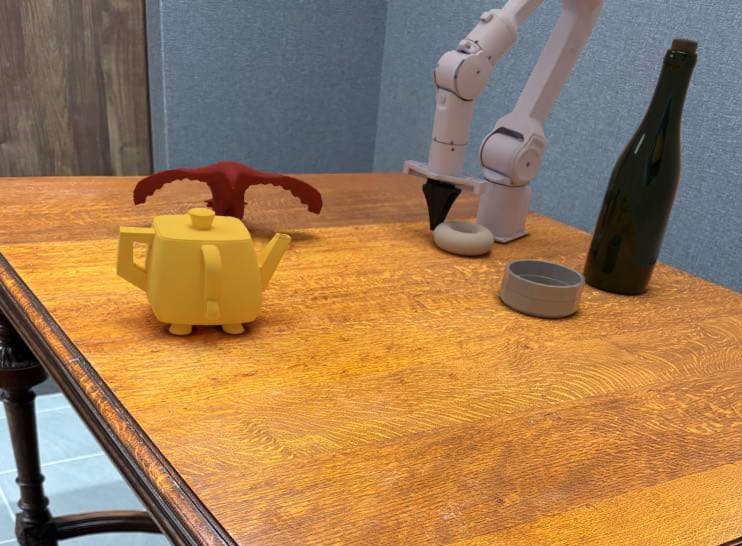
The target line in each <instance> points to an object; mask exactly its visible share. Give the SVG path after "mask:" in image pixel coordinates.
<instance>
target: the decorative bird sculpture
mask: <svg viewBox="0 0 742 546" xmlns="http://www.w3.org/2000/svg"><path fill="white" fill-rule="evenodd" d="M184 180H189V181H198V182H200V183H206V185H207V187H208V188H209V189H210V193H211V197H212V198H209V199H206V200H203V203H205V207H207V208H211V210H212V211H214V212H215V216H226V217H234V218H238V219H239V220H240V221H242V220H244V219H243V218H244V216H245V209H246V206H247V205H249V203H248V202H246V201H245V194H246V191H247V190H248V189H249V188H250V187H251V186H258V185H263V186H267V185H272V186H273V187H278V186H279V187H281V188H282V189H283V190H284V191H290V193H291V195H292V196H293V197H294V198H298V199H299V200H300V201H299V202H300V204H302V205H307V212H309V213H313V214H315V215H320V213H321V212H322V208H323V204H324V202H323V199H322V198H323V197H322V194H321V192H320V191H319V190H318V189H317V188H315V187H314V186H312V185H311V184H309V183H308V182H306V181H304V180H301V179H299V178H296V177H294V176H289V175H284V174H281V173H277V172H276V173H275V172H274V173H270V172H263V171H262V170H261V171H260V170H258V169H255V168H253V167H250V166H249V165H246V164H244V163H241V162H238V161H234V160H233V161H232V160H222V161H218V162H216V163H211V164H210V165H205V166H199V167H194V168H193V167H191V168H187V167H186V168H185V167H179V168H172V169H171V168H170V169H165V170H160V171H157V172H155V173H152V174H151V175H148V176H145V177H144V178H142V179H139V181H138V182H137V183H136V185H135V186H134V189H133V191H132V194H133V195H132V198H133V199H132V200H133V204H134V206H138V205H143V204H146V202H147V197H153V196H154V194H155V192H156V191H157V190H158V191H159V190H161V189H162V188H163V187H164V186H165V185H166V184H171V183H173V182H176V181H181V182H182V181H184Z"/></svg>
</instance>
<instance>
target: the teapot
mask: <svg viewBox="0 0 742 546" xmlns="http://www.w3.org/2000/svg"><path fill="white" fill-rule="evenodd" d="M118 230H119V231H118V239H117V240H118V242H117V253H116V265H115V271H116V276H118V277H120V278H121V279H123V280H125V281H126V282H128V283H129V284H131V285H133V286H134V287H136V288H138V289H140V290H142V291H143V292H145V296H146V298H147V301H148V304H149V305H150V308H151V310H152V312H153V314H154V316H155V318H156V320H158V321H160V322H162V323H166V324H170V327H169V329H168V331H169V332H170V333H171V334H173V335H178V336H181V335H182V336H184V335H189V334H191V333H192V330H193V326H221V328H222V331H223V332H225V333H227V334H230V335H231V334H232V335H233V334H234V335H237V334H242V333H244V332H245V328H244V326H243V325H242V324H243V323H245V324H246V323H249V322H250V323H251V322H254V321H255V320H256V319H257V317H258V316H259V313H260V311H261V309H262V306H263V293H264V292H265V291H266V289H267V287H268V285H269V284H270V282H271V279H272V277H273V276H274V274H275V272H276V270H277V269H278V266H279V264H280V263H281V260H282V259H283V257H284V255H285V253H286V251H287V249H288V247H289V245H290V243H291V241H292V237H291V236H290V235H289V234H285V233H281V232H275V235H274V236H273V237H272V239H271V240H270V241H269V242H268V243H267V244H266V245H265V247H264V248H263V249H262V250H261V251H260V252H259V254H258V255H257V254H256V250H255V249H256V248H255V246H254V241H253V239H252V235H251V234H250V232H249V230H248V229H247V227H246V225H245V224H244V222H243V221H242V220H239V219H238V218H235V217H231V216H227V217H226V216H215V212H214V211H212V209H210V208H208V207H207V208H206V207H193V208H190V209H188V211H187V212H186V213H183V214H161V215H156V216H155V217H154V218H153V220H152V223H151V226H150V227H139V226H137V227H135V226H134V227H133V226H119V229H118ZM134 243H141V244H146V247H145V255H144V265H143V266H141V265H140V264H137V263H136V262H134Z"/></svg>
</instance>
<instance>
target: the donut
mask: <svg viewBox="0 0 742 546" xmlns="http://www.w3.org/2000/svg"><path fill="white" fill-rule="evenodd" d="M475 223H476V222H470V221H466V220H445V221H444V222H443V223H440V224H439V225H438V226H437V227H436V228H435V230H434V231H433V236H432V237H433V241H434V243H435V245H437V246H438V248H440V249H441V250H444V251H445V252H448V253H452V254H455V255H459V256H467V257H468V256H469V257H470V256H471V257H474V256H475V257H476V256H481V255H485V254H487V253H488V252H490V251H491V249H492V248H493V246H494V244H495V240H494V237H493V234H492V233H491V231H489V230H488V229H487V228H485V227H483V226H481V225H479V224H475Z"/></svg>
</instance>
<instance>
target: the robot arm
mask: <svg viewBox="0 0 742 546" xmlns="http://www.w3.org/2000/svg"><path fill="white" fill-rule="evenodd" d="M545 1H546V0H507V2H506V3H505V4H504V5H503V7H502V8H492V9H489V10H488V11H484V12H483V13H482V14H481V15H480V17H479V19H480V21H479V22H478V23H477V24H476V26H475V27H473V29H472V30H471V31H470V32H469V34H468V35H466V37H465V38H464V39H461V40H460V42H459V43H458V44H457V45H458V46H457V47H456V49H455V50H454V49H452V50H448V51H447V52H445V53H444V54H443V55H442V56H441V57H440V58H439V59H438V62H437V64H436V67H435V69H434V68H433V69H432V83H433V86H434V87H435V90H436V91H435V101H436V105H435V113H434V119H433V125H432V126H433V127H432V132H431V133H432V134H431V139H430V148H429V154H428V160H427V163H426V162H421V161H417V160H413V159H408V160H404V162H403V171H402V174H403V175H406V176H414V177H417V178H421V179H425V180H426V181H425V183H423V184H422V186H421V190H422V192H423V193H422V194H423V196H424V199H425V202H426V205H427V206H426V207H427V212H428V220H429V221H428V222H429V231H432V232H434V230H435V228H436V227H437V226H438V225H439V224H440V223H443V222H446V218H447V216H448V214H449V212H450V210H451V208H452V206H453V205H454V203H455V202H456V200H457V199H458V197H459V196H460V195H461V193H462V191H465V192H469V193H472V194H473V195H475V196H480V197H479V201H478V208H477V213H476V217H475V218H476V219H475V222H474V223H475V224H479V225H481V226H483V227H485V228H487V229H488V230H489V231H491V233H492V234H493V237H494V242H498V243H502V244H505V243H508V242H511V241H513V240H516V239H518V238H521V237H523V236H527V235H529V231H528V230H526V229H525V226H526V223H527V218H528V213H529V209H530V204H531V200H532V190H531V187H530V182H531V181H532V180H534V178H535V177H536V176H537V174H538V172H539V171H540V168H541V165H542V159H543V156H544V152H545V150H546V148H547V146H548V141H547V137H546V135H545V132H544V128H543V127H544V125H545V123H546V121H547V119H548V117H549V115H550V113H551V112H552V109H553V107H554V105H555V104H556V102H557V100H558V98H559V96H560V94H561V92H562V90H563V88H564V86H565V84H566V82H567V80H568V79H569V77H570V74H571V72H572V71H573V69H574V66H575V65H576V63H577V61H578V59H579V58H580V55H581V53H582V51H583V49H584V47H585V46H586V43H587V41H588V39H589V37H590V35H591V33H592V32H593V30H594V27H595V25H596V24H597V22H598V20H599V18H600V15H601V13H602V9H603V6H604V3H605V0H560V1H561V7H562V11H561V13H560V15H559V17H558V19H557V20H556V21H557V22H556V24H555V26H554V27H553V29H552V31H551V34H550V36H549V38H548V40H547V41H546V44H545V46H544V48H543V50H542V52H541V53H540V56H539V58H538V60H537V61H536V63H535V65H534V68H533V69H532V72H531V74H530V76H529V78H528V79H527V81H526V84H525V86H524V88H523V90H522V92H521V93H520V96H519V98H518V100H517V102H516V104H515V106H514V108H513V110H512V111H511V112H509V113H508V114H506V115H504V116H502V117H501V118H499V119H497V121H496V123H495V124H494V127H492V130H491V131H490V132H489V133H487V135H485V137H484V138H483V140H482V141H481V143H480V145H479V149H478V162H479V164H480V166H481V168H482V171H481V175H483V176H484V177H483V179H481V178H478V177H476V176H474V175H471V174H469V173H466V172H464V169H465V168H464V167H465V163H466V157H467V151H468V150H467V149H468V143H469V139H470V133H471V132H470V131H471V127H472V120H473V114H474V108H475V103H476V98H477V97H478V96H480V95H481V94H483V92H484V91H485V89H486V87H487V85H488V79H489V76H490V74H491V73H492V72H493V71H492V70H493V68H494V67H495V66H496V65H497V64H498V62H499V61H500V60H502V58H503V57H504V55H506V53H507V52H508V51H510V49H511V48H512V47H513V46H514V44H515V43H516V42H517V39H518V33H519V31H518V30H519V29H518V28H519V27H520V26H521V25H522V24H523V23H524V22H525V21H526V19H528V18H529V17H530V16H531V15H532V14H533V13H534V12H536V10H537V9H538V8H539V7H540V6H541V5H543V3H544V2H545Z"/></svg>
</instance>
